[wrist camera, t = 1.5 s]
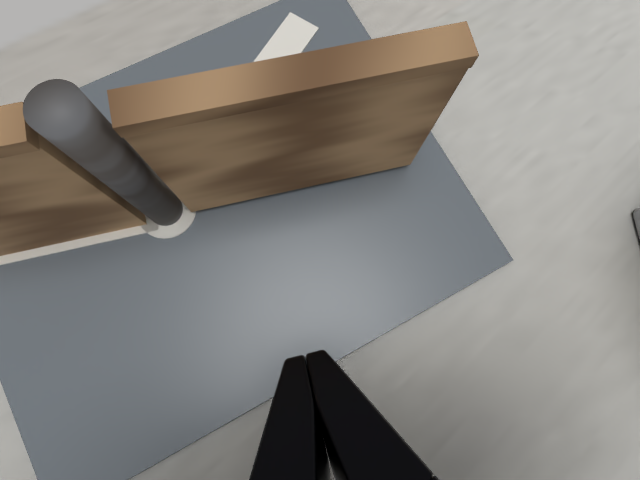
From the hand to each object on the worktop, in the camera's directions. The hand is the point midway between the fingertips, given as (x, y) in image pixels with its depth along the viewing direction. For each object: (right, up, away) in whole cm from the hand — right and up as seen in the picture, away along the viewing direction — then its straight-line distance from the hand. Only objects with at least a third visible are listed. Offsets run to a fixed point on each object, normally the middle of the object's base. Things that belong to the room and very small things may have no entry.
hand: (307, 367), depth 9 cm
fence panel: (-1, +6, +12) cm, 13 cm away
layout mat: (-5, +4, +12) cm, 14 cm away
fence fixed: (-11, +3, +12) cm, 17 cm away
